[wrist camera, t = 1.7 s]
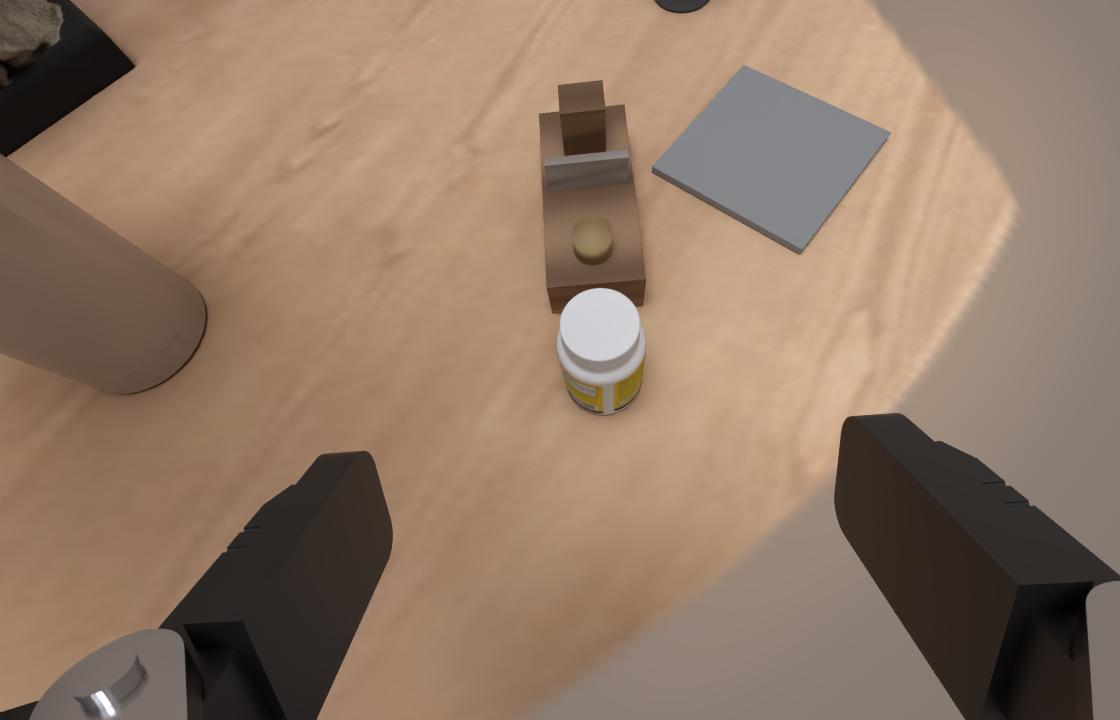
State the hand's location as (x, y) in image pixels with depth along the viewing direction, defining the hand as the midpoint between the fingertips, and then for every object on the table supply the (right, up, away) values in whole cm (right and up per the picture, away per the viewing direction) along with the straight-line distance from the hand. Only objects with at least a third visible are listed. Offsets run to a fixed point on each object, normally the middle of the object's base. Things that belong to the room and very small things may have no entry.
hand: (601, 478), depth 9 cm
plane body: (+1, +12, +29) cm, 31 cm away
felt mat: (+14, +17, +30) cm, 37 cm away
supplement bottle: (+2, +1, +25) cm, 25 cm away
